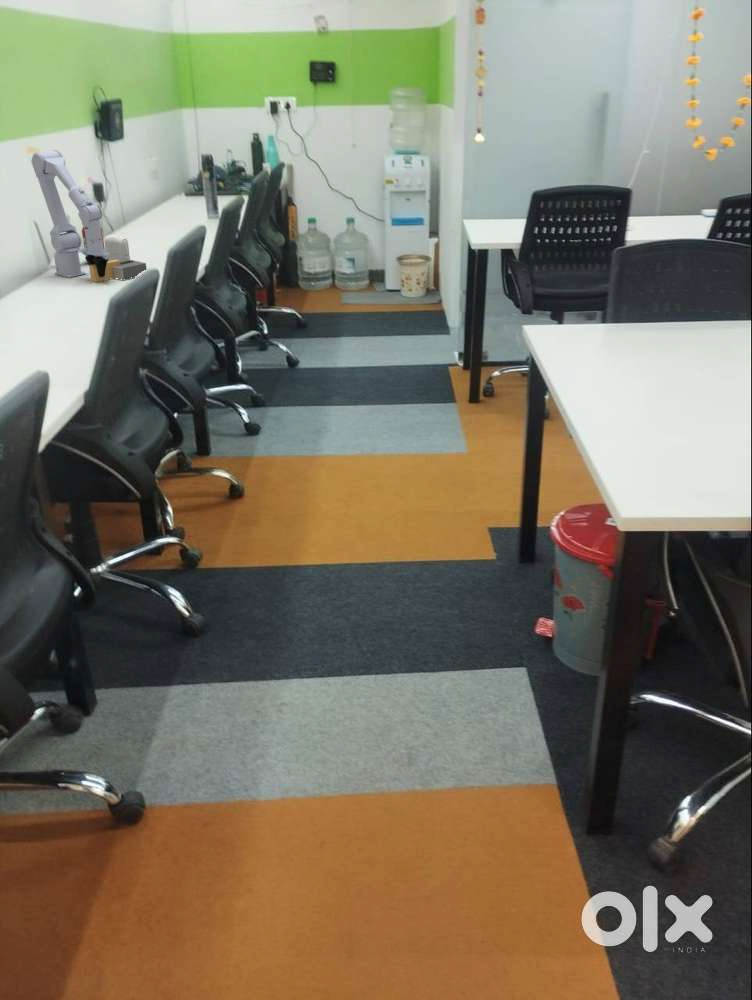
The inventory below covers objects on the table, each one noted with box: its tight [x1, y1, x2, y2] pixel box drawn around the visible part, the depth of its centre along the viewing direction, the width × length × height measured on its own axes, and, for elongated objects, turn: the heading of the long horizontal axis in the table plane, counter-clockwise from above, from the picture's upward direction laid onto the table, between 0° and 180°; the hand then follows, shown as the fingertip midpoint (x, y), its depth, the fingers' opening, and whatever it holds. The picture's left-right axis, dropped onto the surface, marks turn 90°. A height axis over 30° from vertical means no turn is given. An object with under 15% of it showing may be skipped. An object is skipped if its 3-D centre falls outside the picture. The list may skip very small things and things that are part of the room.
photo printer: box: [104, 234, 131, 261], centre depth 334 cm, size 10×4×12 cm, turn 61°
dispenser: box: [113, 258, 148, 281], centre depth 323 cm, size 14×12×4 cm
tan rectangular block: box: [88, 260, 120, 283], centre depth 318 cm, size 2×12×6 cm, turn 143°
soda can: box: [81, 226, 106, 264], centre depth 338 cm, size 8×8×15 cm
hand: (99, 276), depth 316 cm, fingers closed on tan rectangular block, 2 cm apart
